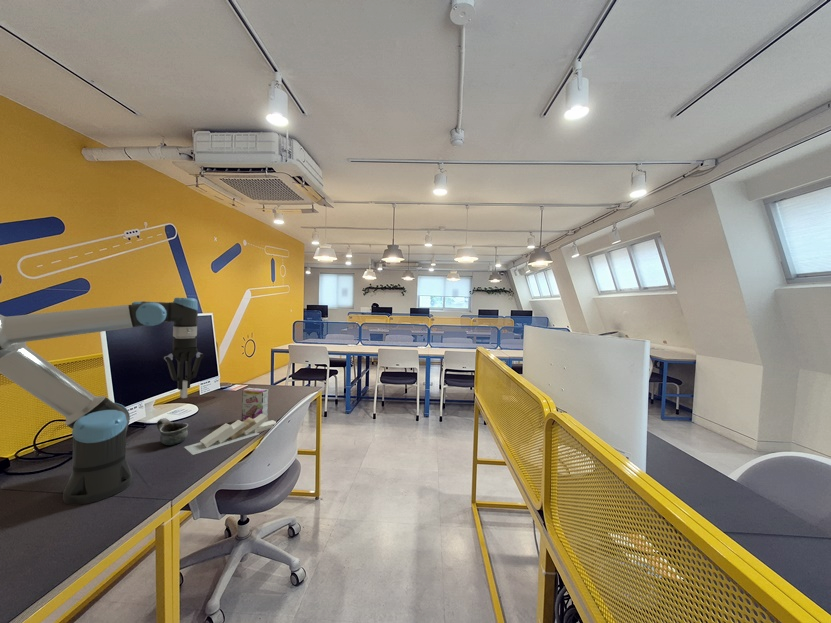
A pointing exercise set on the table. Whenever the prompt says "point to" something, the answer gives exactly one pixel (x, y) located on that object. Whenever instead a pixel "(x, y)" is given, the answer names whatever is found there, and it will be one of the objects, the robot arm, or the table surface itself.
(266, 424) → the domino
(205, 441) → the domino
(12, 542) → the table surface
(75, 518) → the table surface
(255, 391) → the candy bar box
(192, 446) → the mat
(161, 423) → the mug
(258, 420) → the domino
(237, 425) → the domino
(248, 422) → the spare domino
